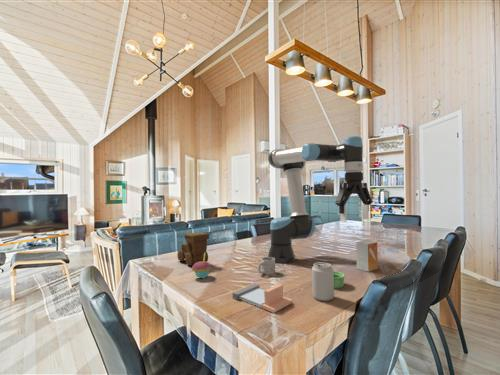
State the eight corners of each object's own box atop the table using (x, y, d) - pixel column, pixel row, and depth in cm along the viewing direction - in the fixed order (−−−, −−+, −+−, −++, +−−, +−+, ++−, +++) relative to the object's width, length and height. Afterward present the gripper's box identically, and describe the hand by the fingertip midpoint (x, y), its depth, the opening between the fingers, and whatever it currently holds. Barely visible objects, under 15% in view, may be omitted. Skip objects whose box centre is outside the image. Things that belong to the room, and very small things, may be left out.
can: (309, 294, 94) (308, 261, 94) (329, 292, 95) (328, 260, 95) (316, 302, 87) (315, 267, 87) (337, 301, 87) (336, 266, 88)
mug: (267, 269, 125) (267, 256, 125) (278, 272, 120) (277, 258, 120) (253, 274, 118) (253, 260, 118) (264, 277, 113) (263, 263, 113)
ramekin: (342, 290, 97) (341, 279, 97) (318, 286, 101) (318, 275, 102) (346, 283, 104) (346, 272, 104) (325, 279, 109) (324, 269, 109)
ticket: (232, 298, 92) (232, 292, 92) (255, 288, 100) (254, 283, 100) (259, 309, 83) (259, 303, 83) (281, 297, 91) (281, 292, 91)
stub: (262, 308, 83) (261, 291, 83) (280, 298, 90) (280, 283, 90) (274, 312, 80) (273, 295, 80) (292, 302, 87) (292, 286, 87)
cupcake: (214, 275, 118) (213, 249, 118) (205, 281, 110) (204, 253, 110) (198, 273, 121) (197, 248, 121) (188, 279, 113) (188, 252, 113)
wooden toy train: (211, 264, 136) (210, 233, 136) (191, 268, 129) (191, 236, 129) (194, 257, 151) (193, 229, 152) (175, 260, 144) (175, 231, 144)
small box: (368, 272, 117) (367, 244, 118) (356, 268, 123) (355, 242, 123) (378, 268, 122) (377, 241, 122) (366, 265, 127) (365, 240, 127)
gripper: (339, 170, 103) (340, 223, 102) (380, 171, 114) (381, 219, 113) (326, 172, 109) (327, 221, 109) (365, 173, 120) (366, 217, 120)
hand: (354, 220), depth 111 cm, fingers open, 13 cm apart
